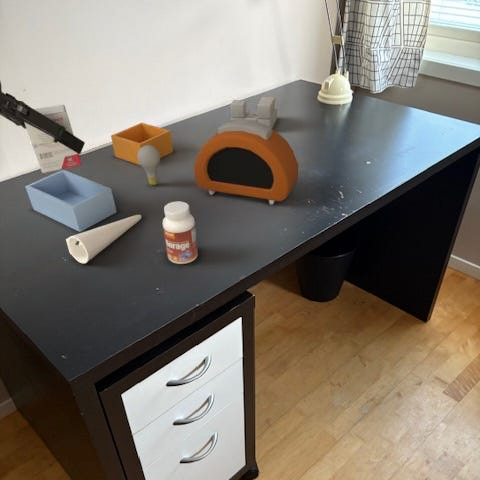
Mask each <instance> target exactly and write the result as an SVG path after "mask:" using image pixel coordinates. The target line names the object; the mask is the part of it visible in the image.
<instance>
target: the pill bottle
mask: <svg viewBox="0 0 480 480" xmlns="http://www.w3.org/2000/svg"><path fill="white" fill-rule="evenodd" d="M163 210H164V211H163V212H164V216H165V217H164V218H163V219H162V230H163V236H164V242H165V249H166V255H167V259H168V260H169V261H170V262H171V263H173V264H175V265H176V264H177V265H184V264H189V263H192V262H194V261H195V260H196V259H197V257H198V256H199V255H198V254H199V252H198V251H199V250H198V240H197V233H196V232H197V231H196V221H195V218H194V216H193V215H192V214H191V211H190V206H189V204H188V203H187V202H184V201H179V200H177V201H171V202H168V203H167V204H166V205H164V208H163Z"/></svg>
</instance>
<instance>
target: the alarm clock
mask: <svg viewBox="0 0 480 480" xmlns="http://www.w3.org/2000/svg"><path fill="white" fill-rule="evenodd" d="M193 173H194V179H195V183H196V185H197V186H198V187H199V188H200V189H201V190H204V191H208V193H209V195H210V196H212V195H214V194H215V193H216V192H217V193H224V194H230V195H237V196H242V197H243V196H244V197H249V198H255V199H261V200H262V199H263V200H268V203H269V205H274V204H275V202H282V201H284V200H286V199H287V198H288V197H289V195H290V193H291V192H292V191H293V189H294V188H295V186H296V184H297V181H298V177H299V163H298V160H297V158H296V155H295V152H294V151H293V148H292V147H291V145H290V143H289V142H288V141H287V140H286V139H285V138H284V137H283V135H281V134H280V133H278V132H277V131H276V130H274V129H273V128H272V129H271V128H270V127H268V126H266V125H264V124H261V123H258V122H255V121H250V120H234V121H231V120H230V121H225V122H224V123H222V124H221V125H219V127H218V128H217V132H216V133H215V134H214V135H213V136H212V137H211V138H210V139H208V141H206V142H205V143H204V144H203V145H202V147H201V148H200V151H199V152H198V154H197V156H196V158H195V161H194V165H193Z"/></svg>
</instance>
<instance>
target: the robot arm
mask: <svg viewBox="0 0 480 480" xmlns="http://www.w3.org/2000/svg"><path fill="white" fill-rule="evenodd" d="M34 109H35V108H33V107H31V106H29V105H28V104H27V103H25V102H24V101H23V100H18V99H17V98H16V96H13V95H12V94H10V93H8V92H6V93H4V92H3V90H2V82H1V80H0V116H1V117H3V118H5V119H7V120H8V121H10V122H11V123H13V124H14V125H15V126H18V127H22V128H23V129H24V130H27V129H26V126H25V123H27V124H29V125H31V126H33V127H34V128H36V129H38V130H40V131H42V132H44V133H46V134H48V135H50V136H51V137H53V138H54V141H53V142H55V143H57V141H58V142H59V143H61V144H63V145H65V146H66V147H68V148H70V149H71V150H73V151H75V152H76V153H78V154H79V155H81V154H82V151H83V148H84V146H85V144H86V142H85V141H83V140H82V139H80V138H79V137H78V136H77V135H74V134H73V135H72V134H71V133H69V132H68V131H66V130H65V129H66V128H65V127H64V126H61V125H59V124H58V123H56V122H54V121H53V120H51V119H49V118H48V117H46V116H44V115H43V114H41V113H39V112H38V111H36V110H34ZM24 122H25V123H24Z"/></svg>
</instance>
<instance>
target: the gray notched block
mask: <svg viewBox="0 0 480 480" xmlns="http://www.w3.org/2000/svg"><path fill="white" fill-rule="evenodd" d="M256 106H257V111H256V112H257V114H251V113H250V109H247V100H244V99H233V100H232V102H231V103H230V117H231V120H230V121H234V120H250V121H255V122H258V123H261V124H264V125H266V126H268V127H270V128H271V129H272V130H273V128H274V126H275V124H276V122H277V120H278V106H277V105H276V97H275V96H262V97H261V99H260V101H259V102H258V104H257V105H256Z"/></svg>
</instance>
